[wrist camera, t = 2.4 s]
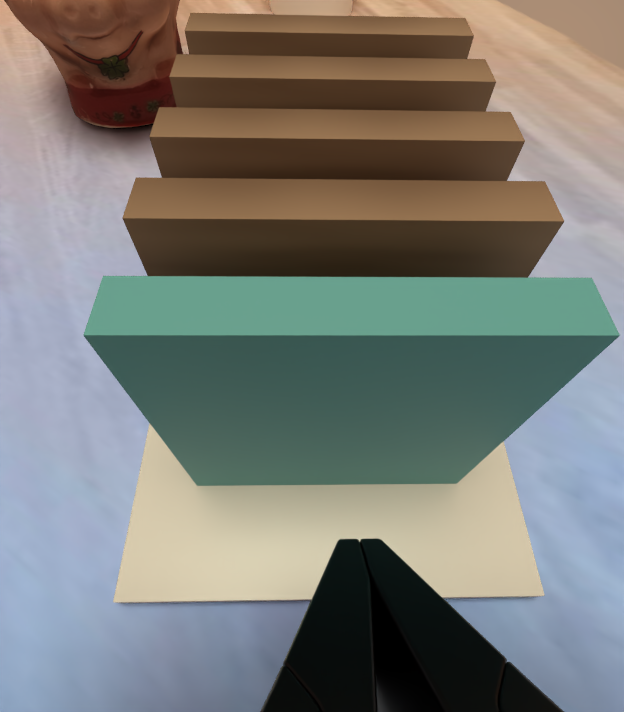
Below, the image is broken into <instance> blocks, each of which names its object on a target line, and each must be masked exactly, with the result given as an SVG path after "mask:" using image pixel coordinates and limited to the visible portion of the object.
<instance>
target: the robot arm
mask: <svg viewBox="0 0 624 712" xmlns="http://www.w3.org/2000/svg"><path fill="white" fill-rule="evenodd" d="M260 712H564V711H563V710H562V709H560V708H559V707H558V706H557V705H556V704H555V703H554V702H553V701H552V700H551V699H549V698H548V697H547V696H546V695H545V694H544V693H543V692H542V691H541V690H540V689H538V688H537V687H536V686H535V685H534V684H533V683H532V682H531V681H530V680H529V679H528V678H527V677H525V676H524V675H523V674H522V673H521V672H520V671H519V670H518V669H517V668H516V667H515V666H514V665H513V664H512V663H511V662H507V660H506V658H505V657H504V656H503V655H502V654H501V653H500V652H499V651H498V650H497V649H496V648H495V647H494V646H493V645H492V644H491V643H490V642H488V641H487V640H486V639H485V638H484V637H483V636H482V635H481V634H480V633H479V632H478V631H477V630H476V629H475V628H474V627H473V626H472V625H471V624H470V623H469V622H467V621H466V620H465V619H464V618H463V617H462V616H461V615H460V614H459V613H458V612H457V611H456V610H455V609H454V608H453V607H452V606H451V605H450V604H449V603H448V602H446V601H445V600H444V599H443V598H442V597H441V596H440V595H439V594H438V593H437V592H436V591H435V590H434V589H433V588H432V587H431V586H430V585H429V584H428V583H427V582H425V581H424V580H423V579H422V578H421V577H420V576H419V575H418V574H417V573H416V572H415V571H414V570H413V569H412V568H411V567H410V566H409V565H408V564H407V563H406V562H404V561H403V560H402V559H401V558H400V557H399V556H398V555H397V554H396V553H395V552H394V551H393V550H392V549H391V548H390V547H389V546H388V545H387V544H386V543H385V542H383V541H382V540H381V539H378V538H374V539H361V540H360V542H359V540H358V539H339V540H338V541H337V543H336V546H335V548H334V550H333V552H332V555H331V557H330V559H329V561H328V564H327V566H326V568H325V570H324V573H323V575H322V577H321V579H320V582H319V584H318V586H317V588H316V591H315V593H314V595H313V597H312V600H311V602H310V604H309V606H308V609H307V611H306V613H305V615H304V618H303V620H302V622H301V624H300V627H299V629H298V631H297V633H296V636H295V638H294V640H293V642H292V645H291V647H290V649H289V651H288V654H287V656H286V658H285V660H284V663H283V666H282V667H281V669H280V671H279V673H278V675H277V678H276V680H275V682H274V684H273V687H272V689H271V691H270V693H269V695H268V697H267V699H266V701H265V703H264V705H263V707H262V709H261V711H260Z"/></svg>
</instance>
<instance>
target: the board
mask: <svg viewBox="0 0 624 712" xmlns="http://www.w3.org/2000/svg"><path fill="white" fill-rule="evenodd" d="M374 538H378V539H381V540H382V541H383V542H385V543H386V544H387V545H388V546H389V547H390V548H391V549H392V550H393V551H394V552H395V553H396V554H397V555H398V556H399V557H400V558H401V559H402V560H403V561H404V562H406V563H407V564H408V565H409V566H410V567H411V568H412V569H413V570H414V571H415V572H416V573H417V574H418V575H419V576H420V577H421V578H422V579H423V580H424V581H425V582H427V583H428V584H429V585H430V586H431V587H432V588H433V589H434V590H435V591H436V592H437V593H438V594H439V595H440V596H441V597H442V598H496V597H538V596H544V592H543V588H542V584H541V581H540V577H539V573H538V569H537V566H536V562H535V558H534V554H533V551H532V547H531V543H530V539H529V536H528V532H527V528H526V524H525V521H524V517H523V513H522V509H521V506H520V502H519V498H518V494H517V490H516V487H515V483H514V479H513V475H512V472H511V468H510V464H509V460H508V457H507V453H506V449H505V445H504V442H502V443H501V444H500V445H499V446H498V447H497V448H495V449H494V450H493V451H492V452H491V453H490V454H489V455H488V456H487V457H486V458H484V459H483V460H482V461H481V462H480V463H479V464H478V465H477V466H476V467H475V468H473V469H472V470H471V471H470V472H469V473H468V474H467V475H466V476H465V477H464V478H462V479H461V480H460V481H459V482H458V483H457V484H360V485H239V486H197V485H196V484H195V482H194V481H193V480H192V479H191V477H190V476H189V475H188V473H187V472H186V471H185V469H184V468H183V467H182V465H181V464H180V463H179V461H178V460H177V459H176V457H175V456H174V455H173V453H172V452H171V451H170V449H169V448H168V447H167V445H166V444H165V443H164V441H163V440H162V439H161V437H160V436H159V435H158V433H157V432H156V431H155V429H154V428H153V427H152V425H151V424H149V429H148V434H147V439H146V444H145V449H144V453H143V458H142V463H141V468H140V473H139V478H138V483H137V488H136V493H135V498H134V502H133V507H132V512H131V517H130V522H129V527H128V532H127V537H126V542H125V547H124V552H123V556H122V561H121V566H120V571H119V576H118V581H117V586H116V591H115V596H114V601H113V602H116V603H163V602H229V601H296V600H312V597H313V595H314V593H315V591H316V588H317V586H318V584H319V582H320V579H321V577H322V575H323V573H324V570H325V568H326V566H327V564H328V561H329V559H330V557H331V555H332V552H333V550H334V548H335V546H336V543H337V541H338V540H339V539H358V540H359V542H360V540H361V539H374Z"/></svg>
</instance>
